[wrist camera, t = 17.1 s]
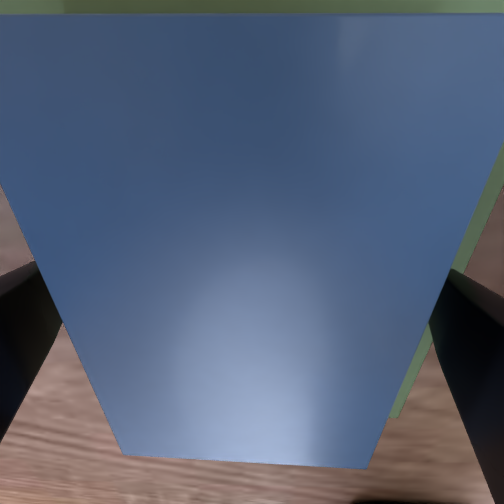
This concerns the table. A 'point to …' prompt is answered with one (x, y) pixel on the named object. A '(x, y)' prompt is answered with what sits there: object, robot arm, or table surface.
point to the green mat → (140, 3)
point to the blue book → (248, 211)
